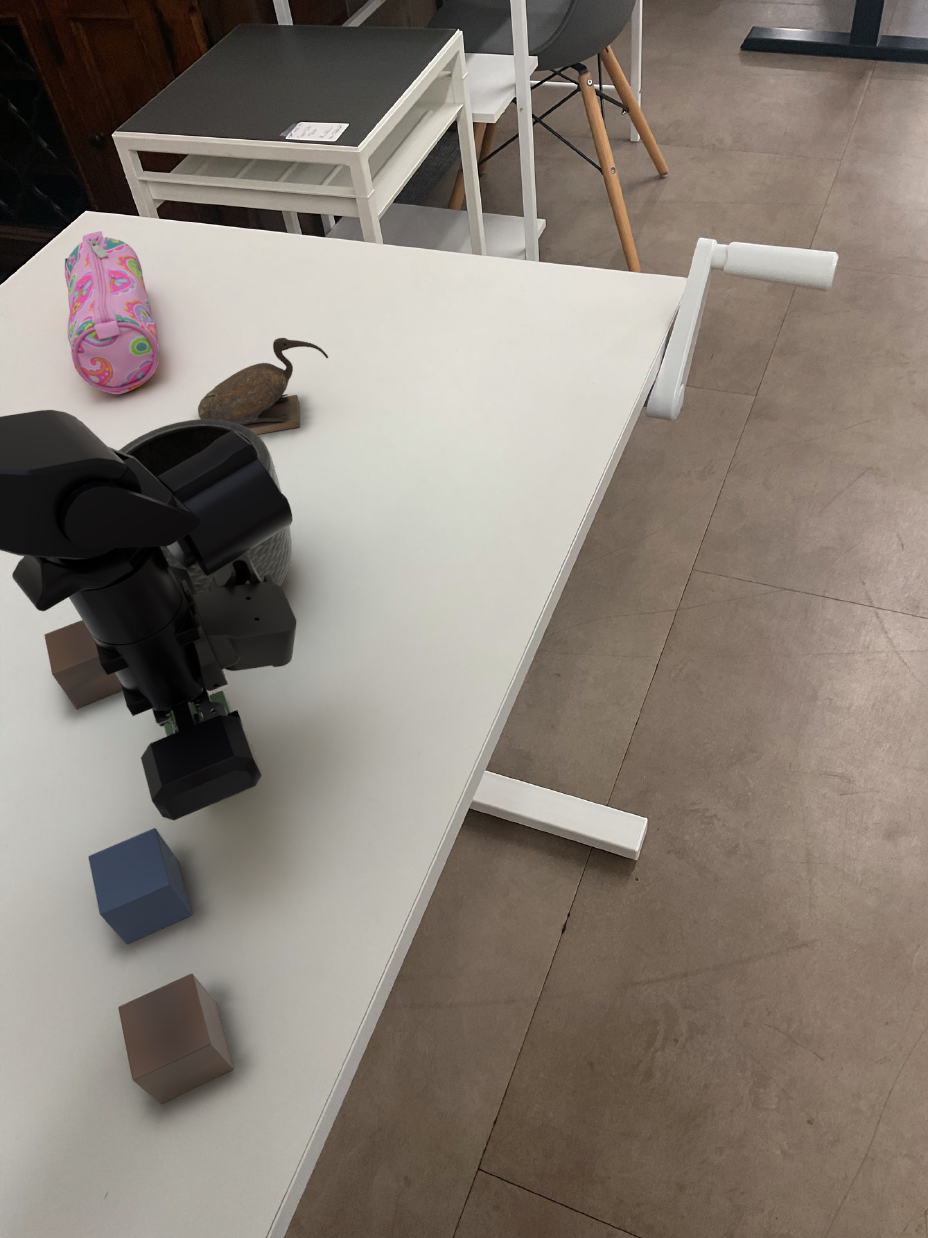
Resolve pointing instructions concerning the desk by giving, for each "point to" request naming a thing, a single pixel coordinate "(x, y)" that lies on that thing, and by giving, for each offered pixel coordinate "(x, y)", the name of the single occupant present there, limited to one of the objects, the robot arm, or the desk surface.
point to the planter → (183, 443)
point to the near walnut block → (174, 1039)
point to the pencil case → (109, 315)
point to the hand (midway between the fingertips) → (214, 754)
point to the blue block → (139, 886)
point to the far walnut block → (79, 665)
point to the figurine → (257, 395)
